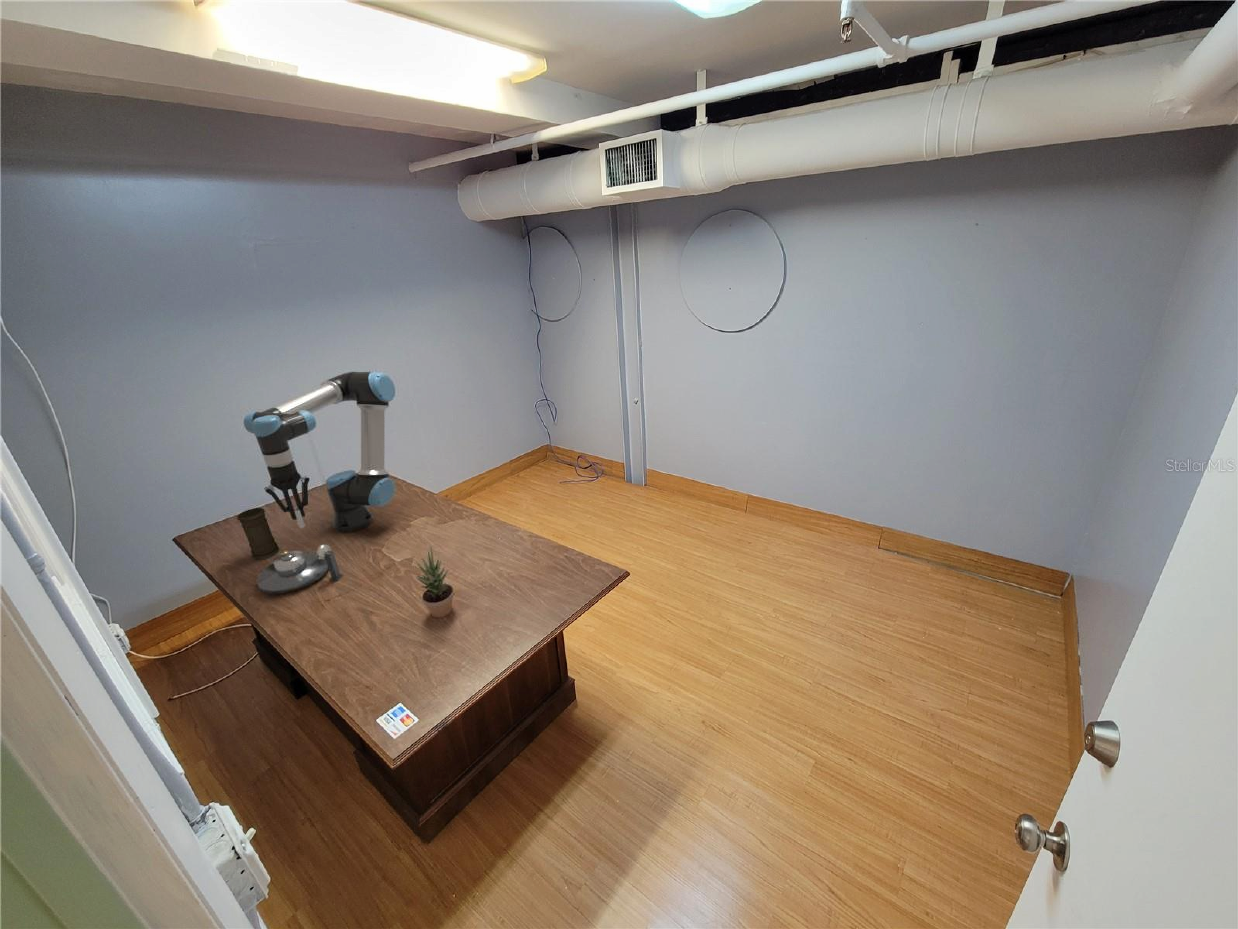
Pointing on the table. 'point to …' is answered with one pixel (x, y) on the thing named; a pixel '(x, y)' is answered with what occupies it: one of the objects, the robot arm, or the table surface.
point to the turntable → (275, 584)
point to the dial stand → (329, 561)
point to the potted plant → (436, 588)
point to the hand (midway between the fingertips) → (301, 526)
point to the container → (258, 533)
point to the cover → (290, 564)
